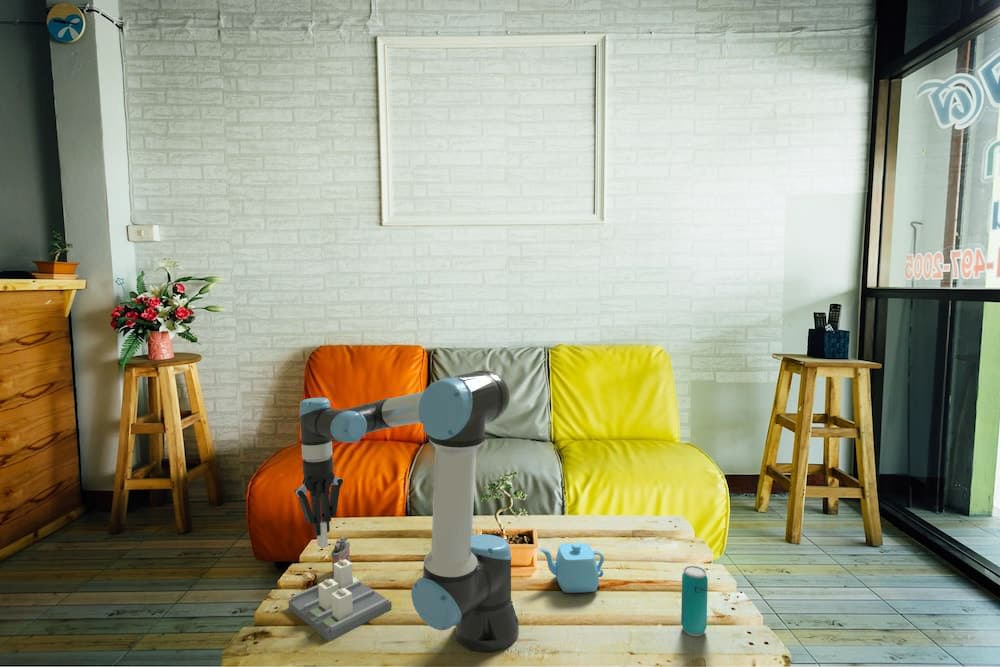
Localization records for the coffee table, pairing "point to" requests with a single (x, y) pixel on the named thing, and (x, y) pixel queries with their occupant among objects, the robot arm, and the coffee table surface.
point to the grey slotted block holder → (322, 621)
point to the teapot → (575, 567)
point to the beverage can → (694, 600)
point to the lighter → (340, 551)
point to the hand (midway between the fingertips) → (322, 545)
